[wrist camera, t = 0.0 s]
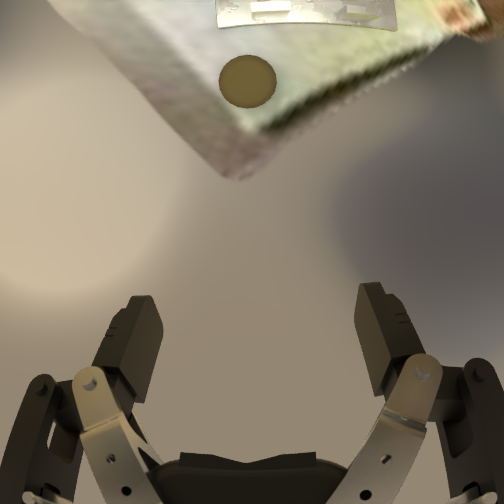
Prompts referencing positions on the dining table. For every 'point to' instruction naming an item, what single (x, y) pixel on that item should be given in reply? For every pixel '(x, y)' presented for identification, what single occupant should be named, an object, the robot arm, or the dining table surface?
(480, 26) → the dining table surface
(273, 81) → the cork
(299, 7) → the grey rack
